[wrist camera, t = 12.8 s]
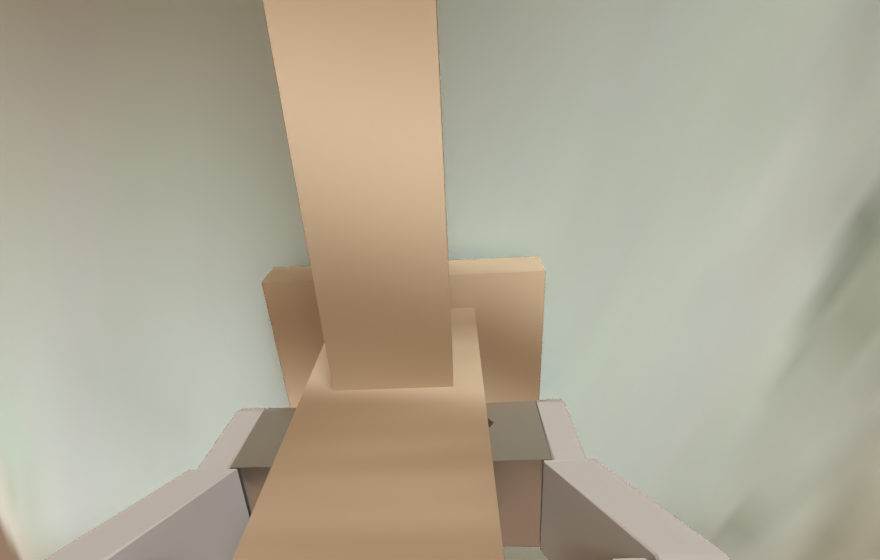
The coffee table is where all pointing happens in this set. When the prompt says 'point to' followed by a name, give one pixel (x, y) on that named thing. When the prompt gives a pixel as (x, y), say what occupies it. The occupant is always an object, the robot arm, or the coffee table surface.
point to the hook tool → (383, 306)
